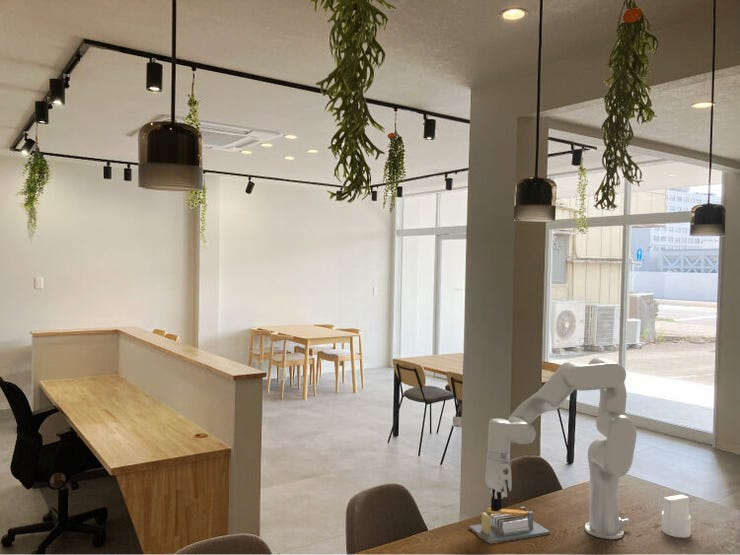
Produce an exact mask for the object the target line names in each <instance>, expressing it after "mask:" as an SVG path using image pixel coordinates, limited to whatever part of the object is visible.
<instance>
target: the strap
mask: <svg viewBox="0 0 740 555" xmlns="http://www.w3.org/2000/svg"><path fill="white" fill-rule="evenodd" d="M487 511H488V512H490V513H491V514H508V515H524V516H525V517H528V512H529V511H527V510H520V509H508V508H502V509H501V510H493V509H491V507H487Z"/></svg>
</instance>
